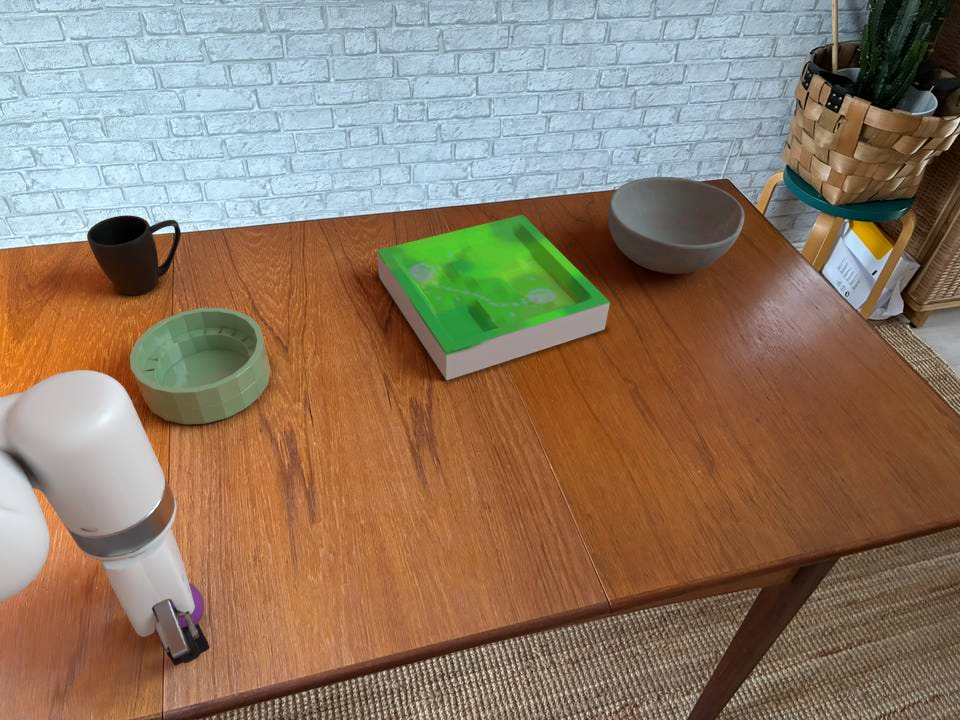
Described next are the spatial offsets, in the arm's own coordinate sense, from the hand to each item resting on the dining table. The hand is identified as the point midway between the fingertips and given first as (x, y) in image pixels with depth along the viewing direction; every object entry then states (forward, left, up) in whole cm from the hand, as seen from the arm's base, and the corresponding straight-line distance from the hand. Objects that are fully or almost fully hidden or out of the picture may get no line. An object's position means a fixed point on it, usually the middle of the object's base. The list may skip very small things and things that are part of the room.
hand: (179, 616), depth 67 cm
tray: (+56, -17, -1) cm, 59 cm away
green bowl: (+30, +14, -1) cm, 33 cm away
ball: (0, 0, -1) cm, 1 cm away
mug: (+47, +33, -1) cm, 57 cm away
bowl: (+75, -42, -1) cm, 86 cm away
